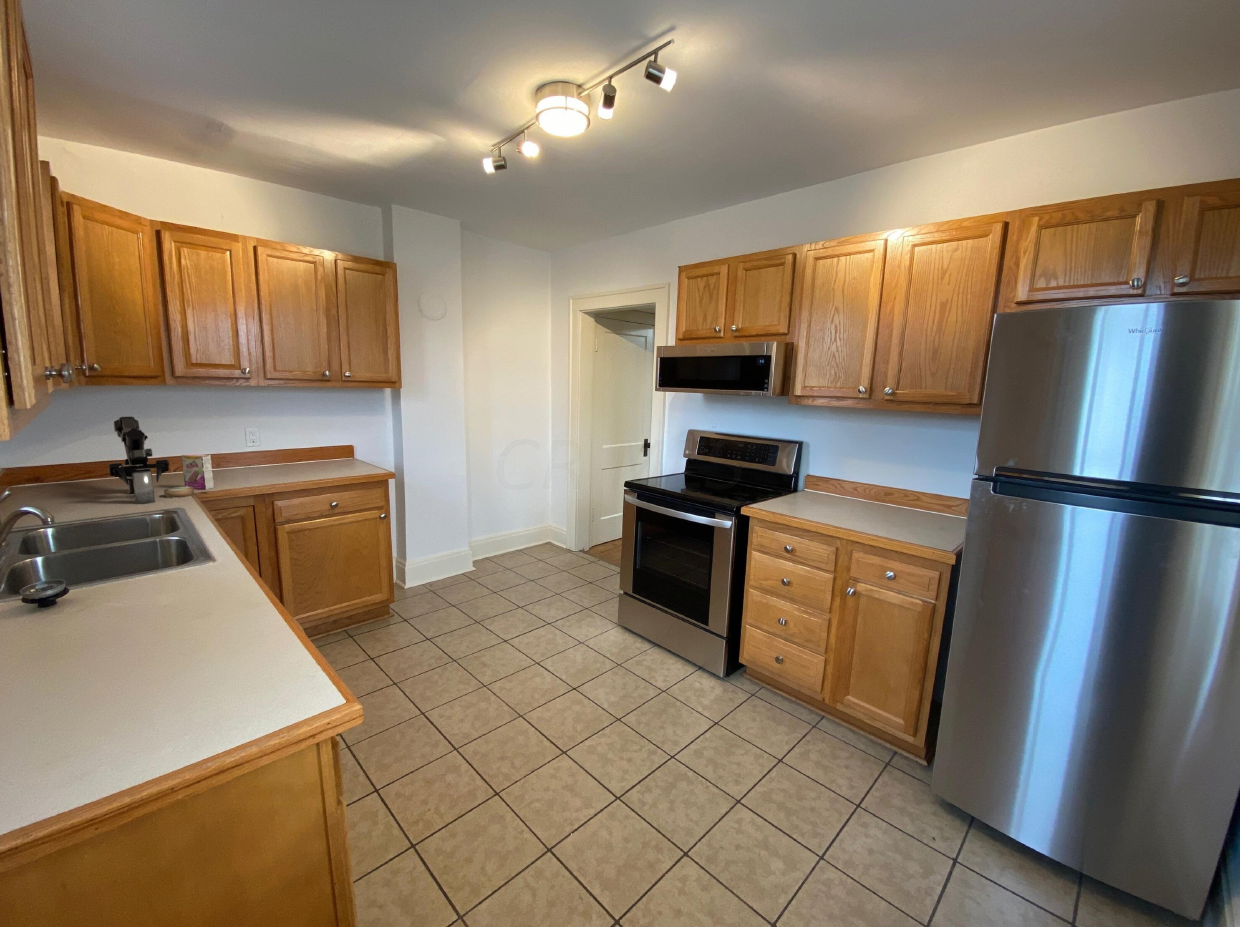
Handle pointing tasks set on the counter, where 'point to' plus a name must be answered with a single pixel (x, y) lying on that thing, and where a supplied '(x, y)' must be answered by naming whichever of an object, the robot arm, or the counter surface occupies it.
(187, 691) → the counter surface
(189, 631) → the counter surface
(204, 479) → the candy bar box
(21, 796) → the counter surface
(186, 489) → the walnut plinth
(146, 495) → the grey tin
